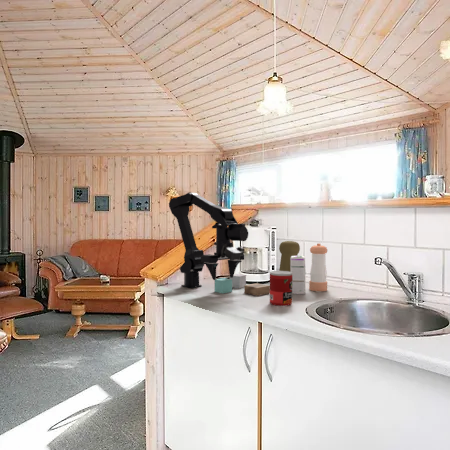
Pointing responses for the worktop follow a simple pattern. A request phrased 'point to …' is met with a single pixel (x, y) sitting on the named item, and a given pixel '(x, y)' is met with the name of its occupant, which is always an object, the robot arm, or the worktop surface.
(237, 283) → the grey cube
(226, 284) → the teal cube
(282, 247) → the pepper shaker
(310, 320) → the worktop surface
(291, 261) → the syrup box
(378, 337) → the worktop surface
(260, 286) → the oak slab
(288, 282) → the canned food
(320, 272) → the pepper shaker
